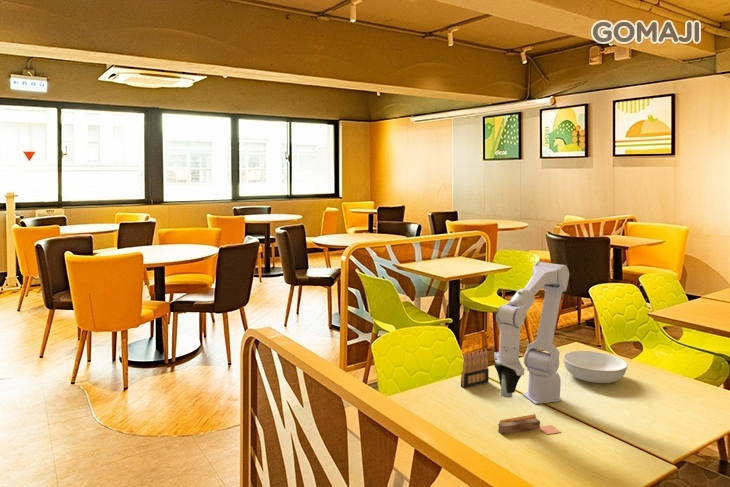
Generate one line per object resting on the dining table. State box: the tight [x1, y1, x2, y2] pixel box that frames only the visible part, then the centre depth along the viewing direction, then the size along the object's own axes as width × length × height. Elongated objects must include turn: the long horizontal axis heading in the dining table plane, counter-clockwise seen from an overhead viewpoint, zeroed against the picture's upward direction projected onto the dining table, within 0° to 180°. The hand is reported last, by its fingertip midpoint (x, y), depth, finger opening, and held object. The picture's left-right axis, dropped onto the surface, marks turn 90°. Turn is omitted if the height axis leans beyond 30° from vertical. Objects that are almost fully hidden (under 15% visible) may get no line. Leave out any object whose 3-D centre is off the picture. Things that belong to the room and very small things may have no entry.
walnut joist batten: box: [497, 417, 541, 436], centre depth 161 cm, size 12×2×2 cm, turn 105°
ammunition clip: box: [460, 348, 490, 389], centre depth 194 cm, size 11×2×12 cm, turn 118°
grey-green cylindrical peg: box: [500, 373, 513, 399], centre depth 168 cm, size 3×3×6 cm
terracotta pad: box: [540, 424, 562, 436], centre depth 162 cm, size 4×4×1 cm
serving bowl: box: [562, 350, 628, 384], centre depth 200 cm, size 21×21×7 cm
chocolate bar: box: [497, 413, 537, 426], centre depth 166 cm, size 3×12×2 cm, turn 110°
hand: (507, 389), depth 168 cm, fingers closed on grey-green cylindrical peg, 3 cm apart
